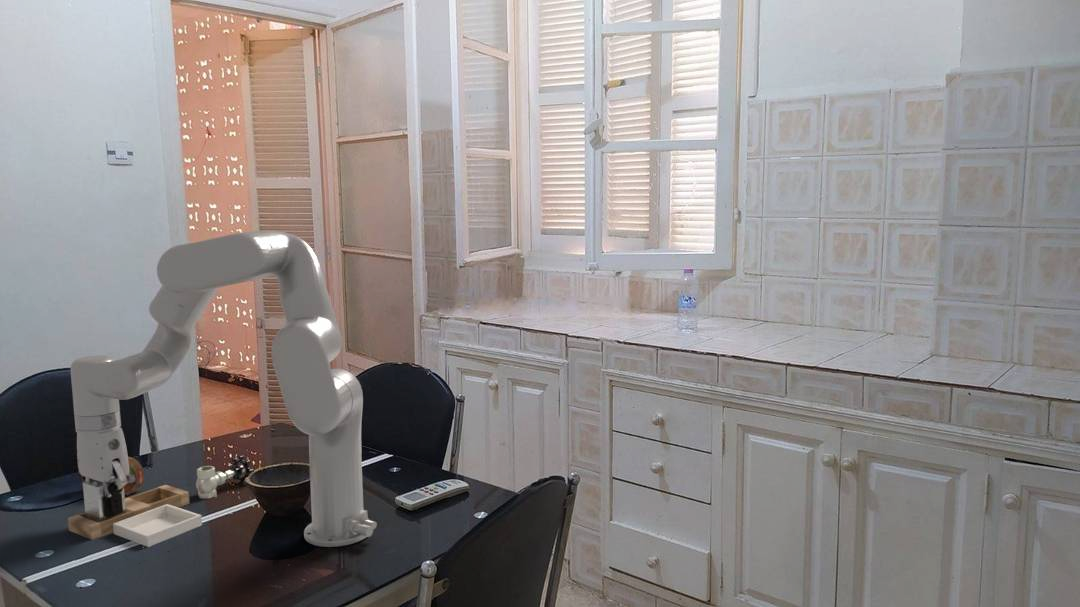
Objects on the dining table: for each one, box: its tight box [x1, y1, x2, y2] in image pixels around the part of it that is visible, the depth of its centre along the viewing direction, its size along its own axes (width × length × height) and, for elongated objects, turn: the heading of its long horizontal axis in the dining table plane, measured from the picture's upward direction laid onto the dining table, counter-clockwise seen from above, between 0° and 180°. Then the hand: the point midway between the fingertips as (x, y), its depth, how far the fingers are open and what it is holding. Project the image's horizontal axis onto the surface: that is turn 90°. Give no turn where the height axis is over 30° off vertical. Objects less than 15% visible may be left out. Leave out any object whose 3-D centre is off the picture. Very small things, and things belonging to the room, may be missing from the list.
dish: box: [113, 504, 203, 548], centre depth 145 cm, size 11×11×2 cm
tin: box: [78, 456, 145, 496], centre depth 165 cm, size 15×3×8 cm, turn 76°
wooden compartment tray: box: [67, 484, 190, 540], centre depth 151 cm, size 8×20×3 cm, turn 149°
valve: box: [195, 454, 255, 500], centre depth 165 cm, size 7×7×12 cm
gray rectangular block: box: [82, 476, 126, 522], centre depth 146 cm, size 5×5×9 cm
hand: (105, 510), depth 147 cm, fingers closed on gray rectangular block, 5 cm apart
